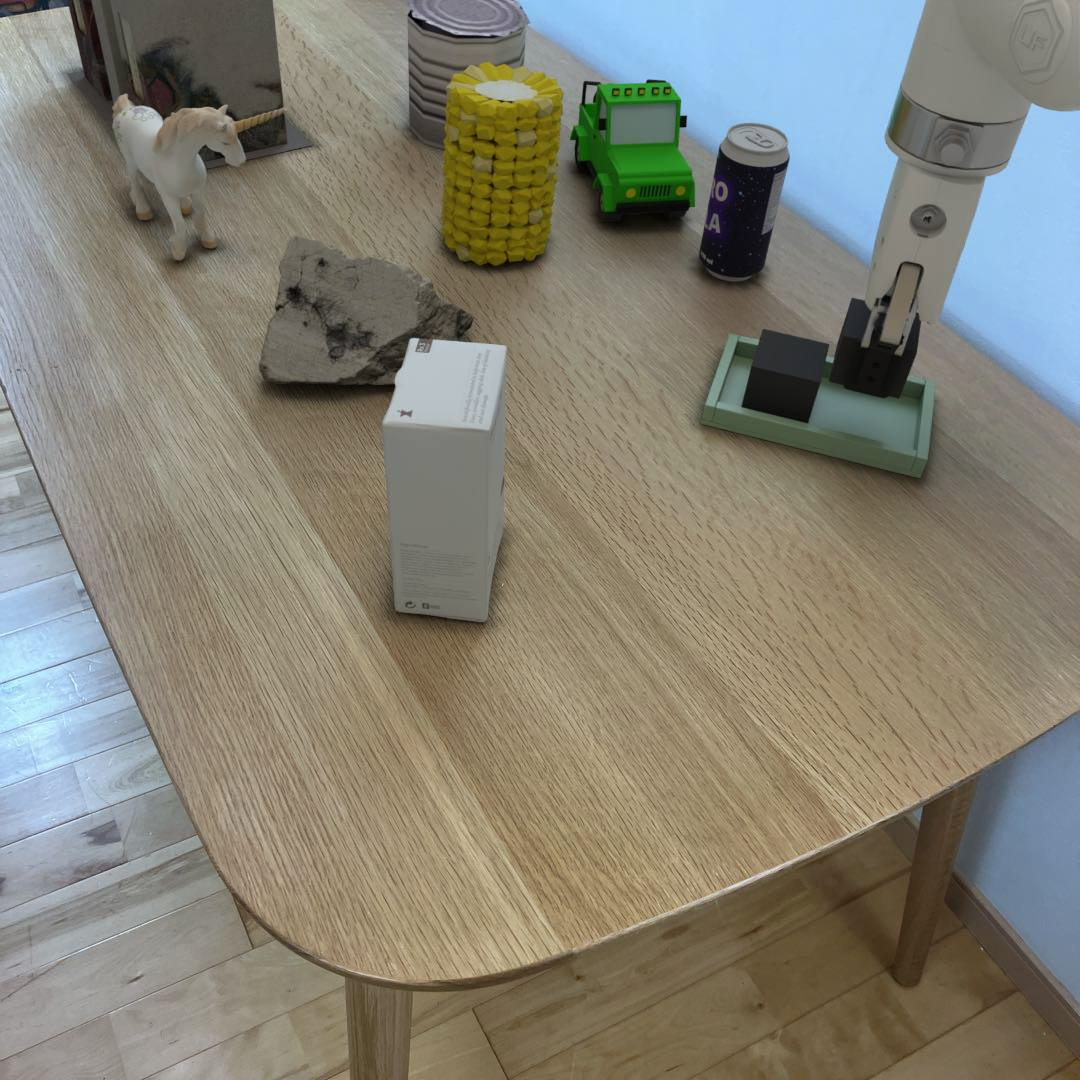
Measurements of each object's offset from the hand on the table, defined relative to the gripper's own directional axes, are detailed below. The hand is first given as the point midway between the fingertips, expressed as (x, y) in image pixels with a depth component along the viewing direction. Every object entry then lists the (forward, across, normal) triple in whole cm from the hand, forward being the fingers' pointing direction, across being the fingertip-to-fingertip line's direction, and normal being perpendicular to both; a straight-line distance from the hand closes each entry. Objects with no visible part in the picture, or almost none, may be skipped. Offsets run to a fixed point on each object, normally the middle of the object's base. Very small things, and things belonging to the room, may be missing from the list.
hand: (870, 365), depth 80 cm
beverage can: (+5, +17, +13) cm, 22 cm away
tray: (+5, 0, +3) cm, 6 cm away
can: (+5, +32, +43) cm, 53 cm away
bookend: (+6, +24, +69) cm, 73 cm away
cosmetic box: (+5, -25, +23) cm, 34 cm away
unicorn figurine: (+5, +5, +56) cm, 56 cm away
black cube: (0, 0, 0) cm, 0 cm away
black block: (+5, 0, +6) cm, 7 cm away
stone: (+5, -6, +37) cm, 37 cm away
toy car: (+5, +27, +25) cm, 37 cm away
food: (+5, +13, +33) cm, 35 cm away
